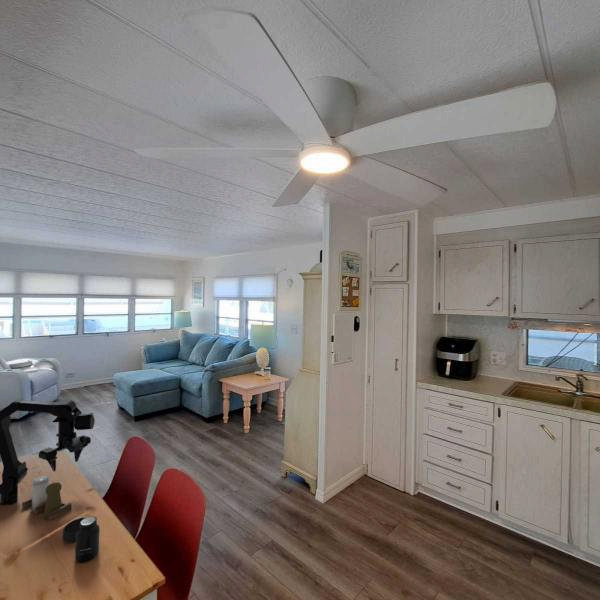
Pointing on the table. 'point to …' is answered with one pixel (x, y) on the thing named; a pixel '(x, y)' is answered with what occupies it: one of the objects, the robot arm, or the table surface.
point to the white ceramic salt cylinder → (39, 491)
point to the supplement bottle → (87, 540)
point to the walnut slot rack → (40, 509)
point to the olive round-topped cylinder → (53, 498)
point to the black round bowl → (71, 530)
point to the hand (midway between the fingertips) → (65, 466)
